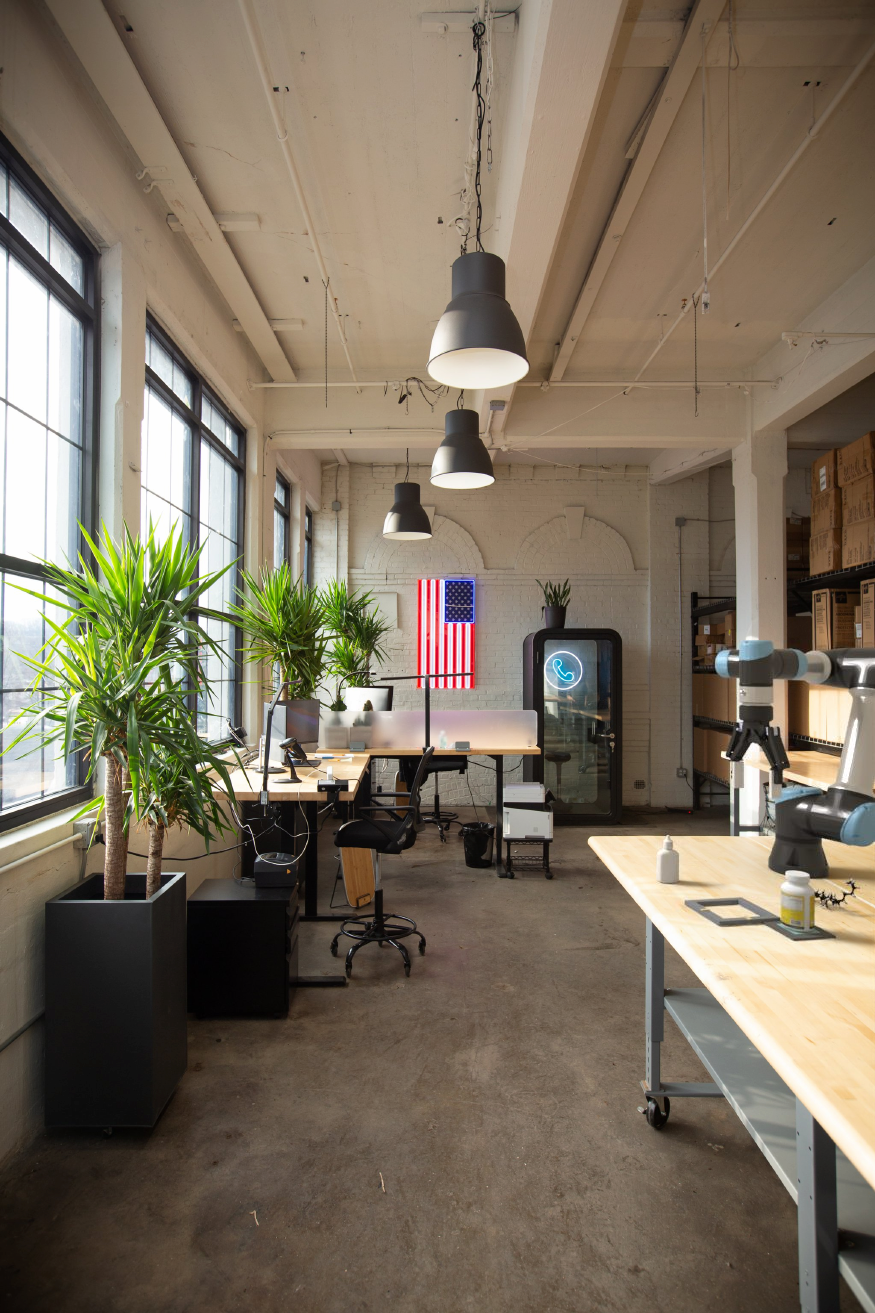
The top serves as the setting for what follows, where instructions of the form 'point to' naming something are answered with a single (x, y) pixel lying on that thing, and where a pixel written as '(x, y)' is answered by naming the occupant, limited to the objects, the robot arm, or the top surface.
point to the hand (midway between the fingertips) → (756, 793)
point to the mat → (795, 935)
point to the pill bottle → (797, 902)
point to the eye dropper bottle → (667, 863)
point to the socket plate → (763, 916)
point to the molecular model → (835, 895)
